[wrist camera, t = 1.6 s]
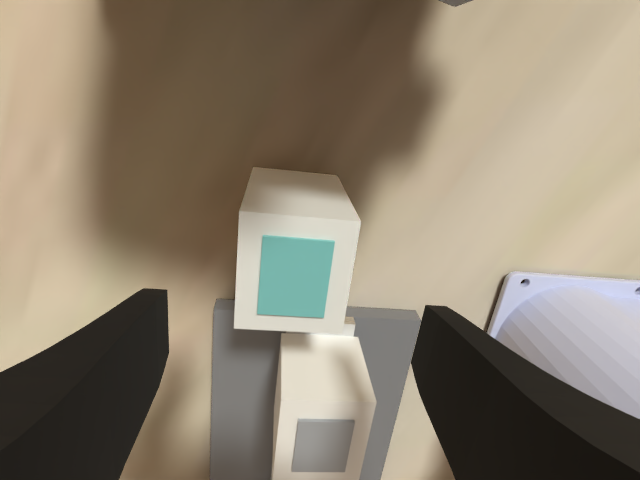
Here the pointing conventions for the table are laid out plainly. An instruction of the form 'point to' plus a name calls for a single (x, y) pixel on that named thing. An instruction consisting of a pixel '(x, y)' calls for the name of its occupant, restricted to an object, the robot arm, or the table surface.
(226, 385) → the board
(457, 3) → the circuit breaker
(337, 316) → the block
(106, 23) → the table surface
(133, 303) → the robot arm
